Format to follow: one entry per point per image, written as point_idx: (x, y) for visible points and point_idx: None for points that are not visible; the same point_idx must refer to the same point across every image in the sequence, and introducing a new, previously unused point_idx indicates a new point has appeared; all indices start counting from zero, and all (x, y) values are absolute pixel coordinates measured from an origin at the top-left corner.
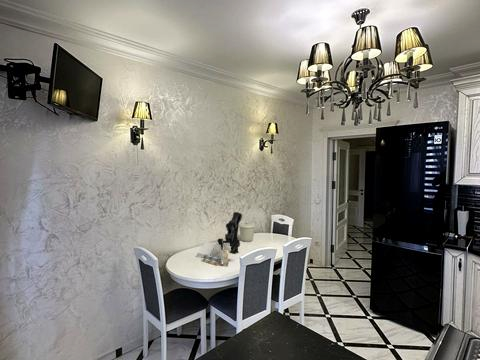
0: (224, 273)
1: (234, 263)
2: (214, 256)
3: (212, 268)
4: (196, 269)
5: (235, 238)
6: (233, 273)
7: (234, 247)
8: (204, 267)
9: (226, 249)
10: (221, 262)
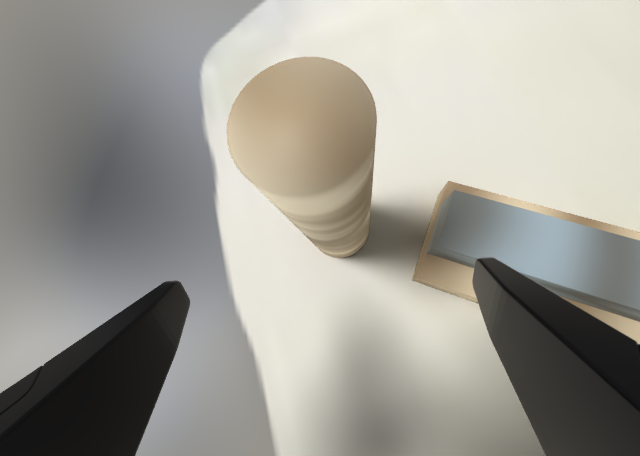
0: (291, 53)
1: (258, 334)
2: (593, 294)
3: (455, 110)
4: (619, 24)
5: None
6: (213, 82)
7: (38, 383)
8: (562, 101)
9: (300, 186)
10: (416, 272)
